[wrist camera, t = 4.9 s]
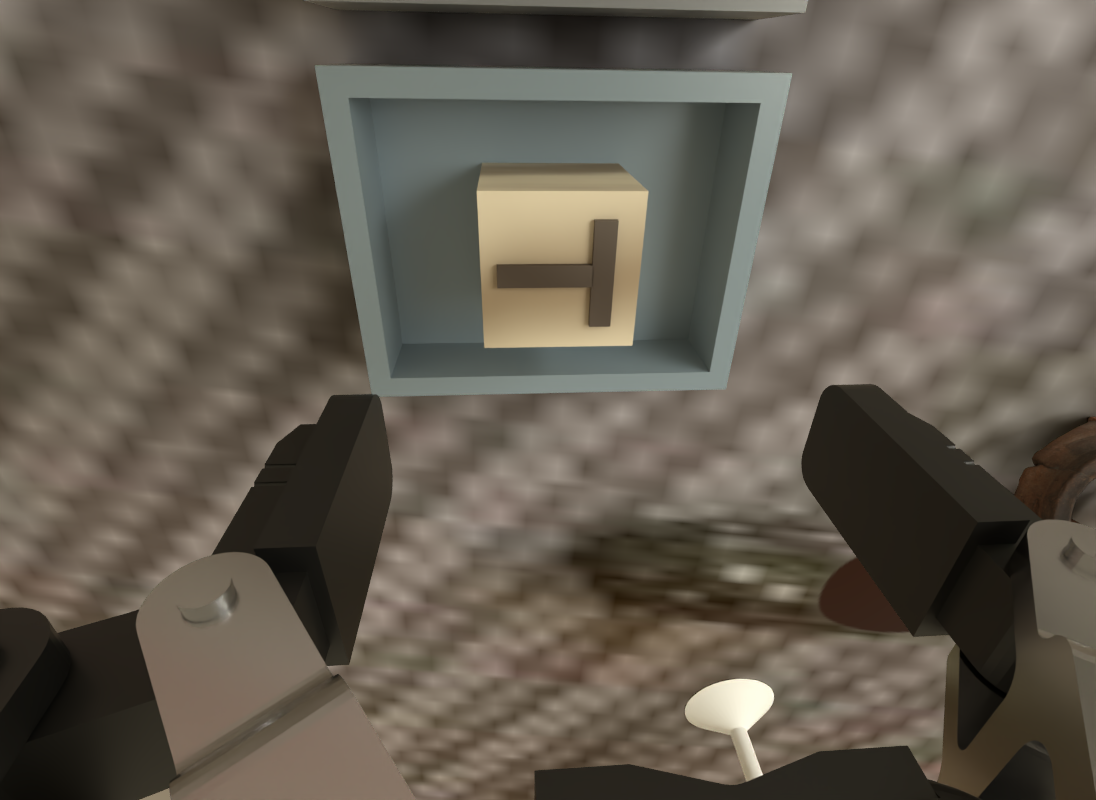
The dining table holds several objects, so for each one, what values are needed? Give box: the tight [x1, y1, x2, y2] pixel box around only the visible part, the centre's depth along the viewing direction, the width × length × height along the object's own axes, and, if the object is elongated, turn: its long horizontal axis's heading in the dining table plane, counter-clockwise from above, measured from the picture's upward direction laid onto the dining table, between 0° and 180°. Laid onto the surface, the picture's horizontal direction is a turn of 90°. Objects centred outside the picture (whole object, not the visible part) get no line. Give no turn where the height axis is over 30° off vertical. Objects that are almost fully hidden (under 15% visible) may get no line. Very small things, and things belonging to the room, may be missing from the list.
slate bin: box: [315, 64, 792, 397], centre depth 21 cm, size 11×14×4 cm
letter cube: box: [477, 163, 649, 348], centre depth 20 cm, size 5×5×5 cm
